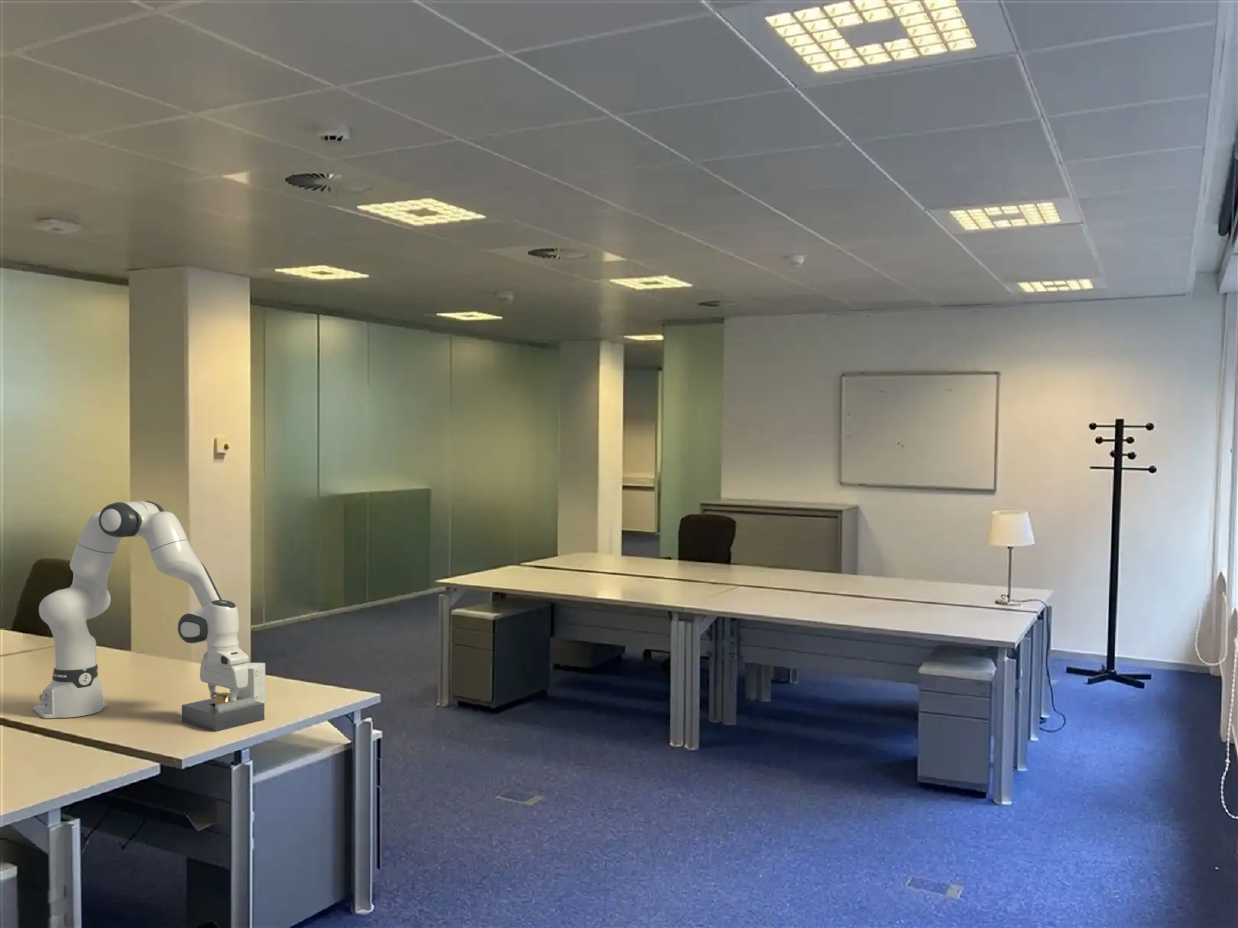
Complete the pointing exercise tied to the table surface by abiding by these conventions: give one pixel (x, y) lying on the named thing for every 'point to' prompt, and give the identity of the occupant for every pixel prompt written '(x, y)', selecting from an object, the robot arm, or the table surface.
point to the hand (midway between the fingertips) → (223, 700)
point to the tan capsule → (221, 697)
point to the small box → (255, 682)
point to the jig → (223, 713)
